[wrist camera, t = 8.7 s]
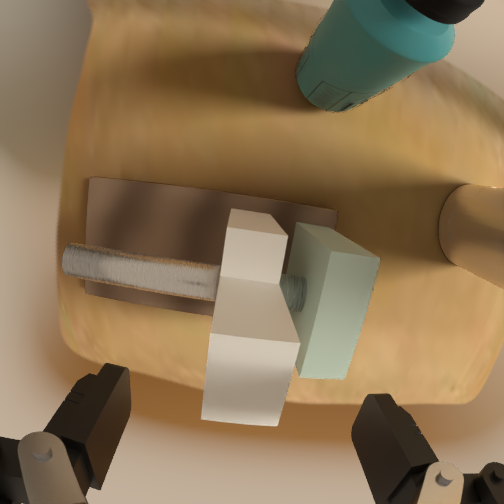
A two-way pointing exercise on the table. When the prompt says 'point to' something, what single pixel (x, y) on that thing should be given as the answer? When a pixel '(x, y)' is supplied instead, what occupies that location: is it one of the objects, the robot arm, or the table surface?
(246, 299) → the white stepped block
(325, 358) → the mount block
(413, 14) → the beverage bottle
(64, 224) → the table surface
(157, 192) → the pipe board
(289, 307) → the steel pipe
